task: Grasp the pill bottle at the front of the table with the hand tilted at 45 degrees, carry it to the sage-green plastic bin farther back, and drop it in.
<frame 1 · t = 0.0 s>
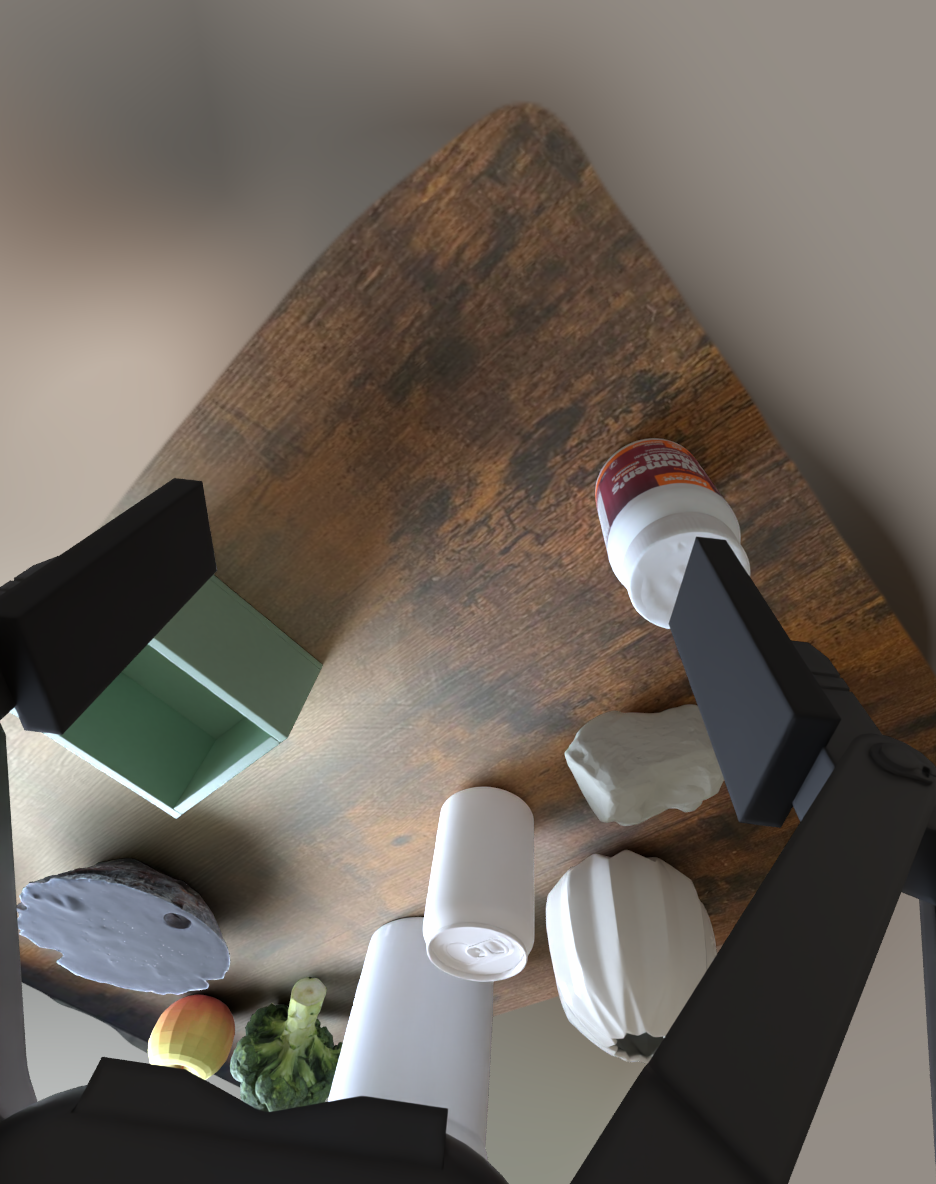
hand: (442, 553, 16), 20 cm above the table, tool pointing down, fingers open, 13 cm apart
beverage can: (487, 810, 52), on the table
decorative stone: (639, 744, 46), on the table
bin: (200, 653, 45), on the table
apple: (208, 1002, 76), on the table
vase: (618, 877, 55), on the table
pill bottle: (645, 485, 35), on the table
utensil holder: (430, 949, 64), on the table
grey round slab: (149, 895, 64), on the table
vegetable: (304, 997, 73), on the table
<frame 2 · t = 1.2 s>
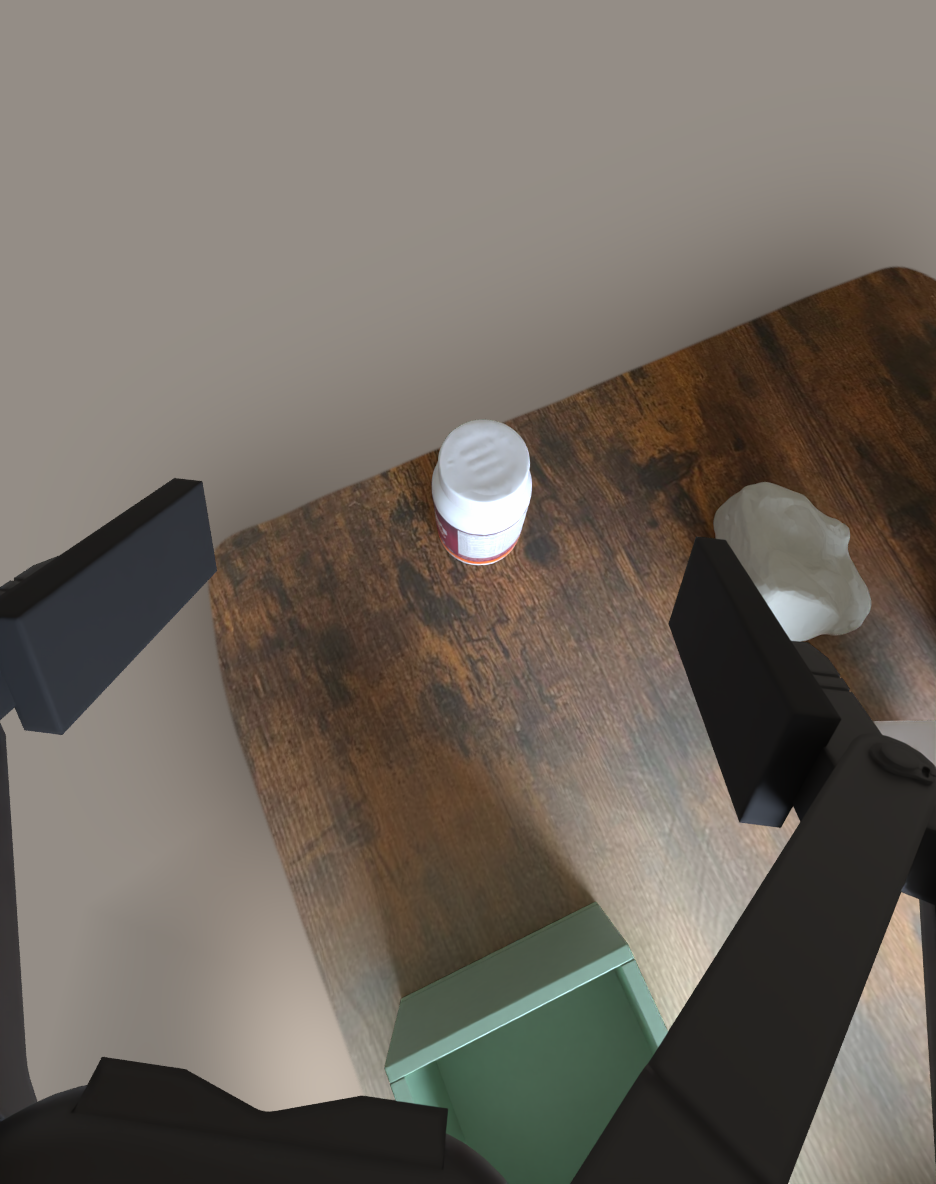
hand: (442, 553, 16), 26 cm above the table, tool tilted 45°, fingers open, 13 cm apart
beverage can: (866, 782, 40), on the table
decorative stone: (769, 581, 43), on the table
bin: (546, 1062, 36), on the table
pill bottle: (479, 528, 44), on the table
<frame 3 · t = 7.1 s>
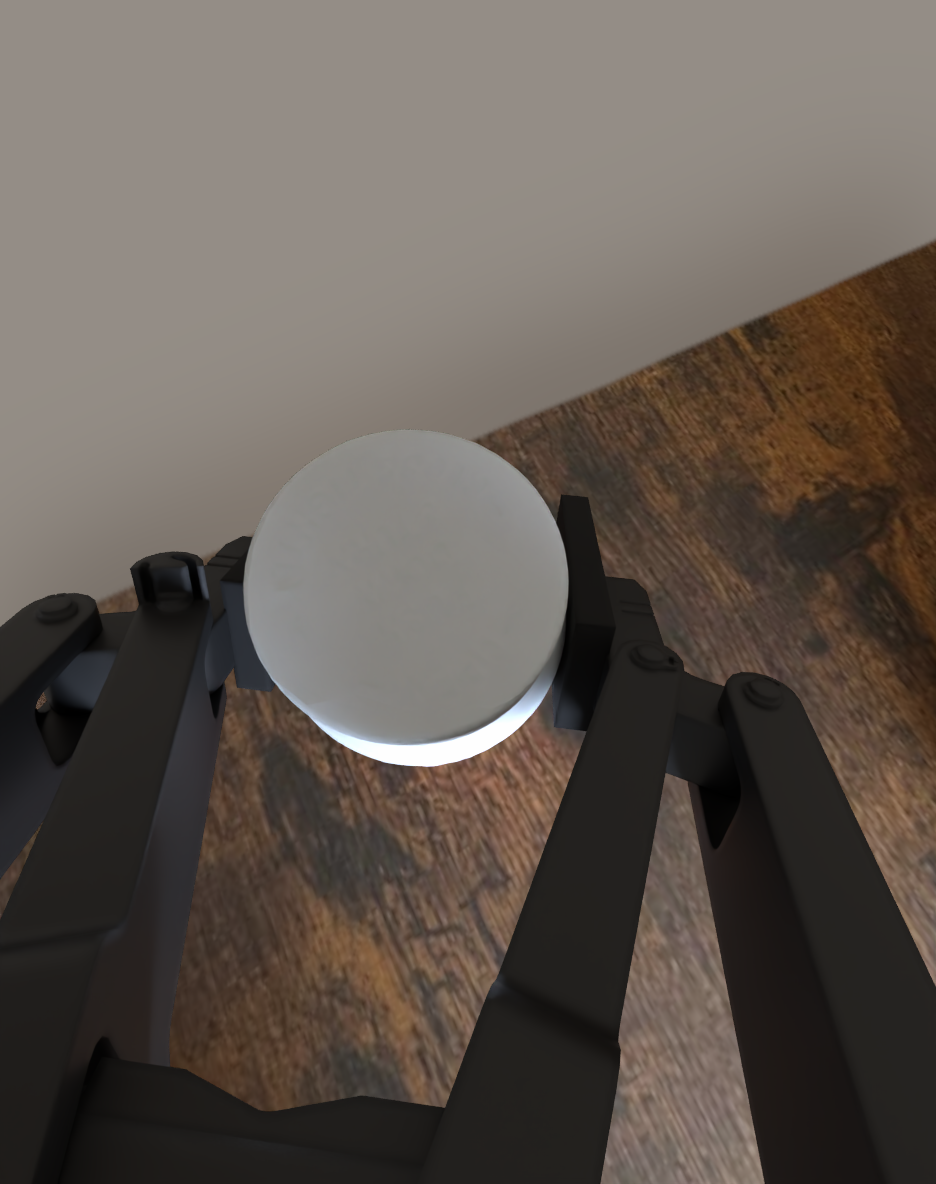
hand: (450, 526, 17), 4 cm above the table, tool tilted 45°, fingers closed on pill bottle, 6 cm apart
pill bottle: (441, 661, 20), on the table, touching gripper
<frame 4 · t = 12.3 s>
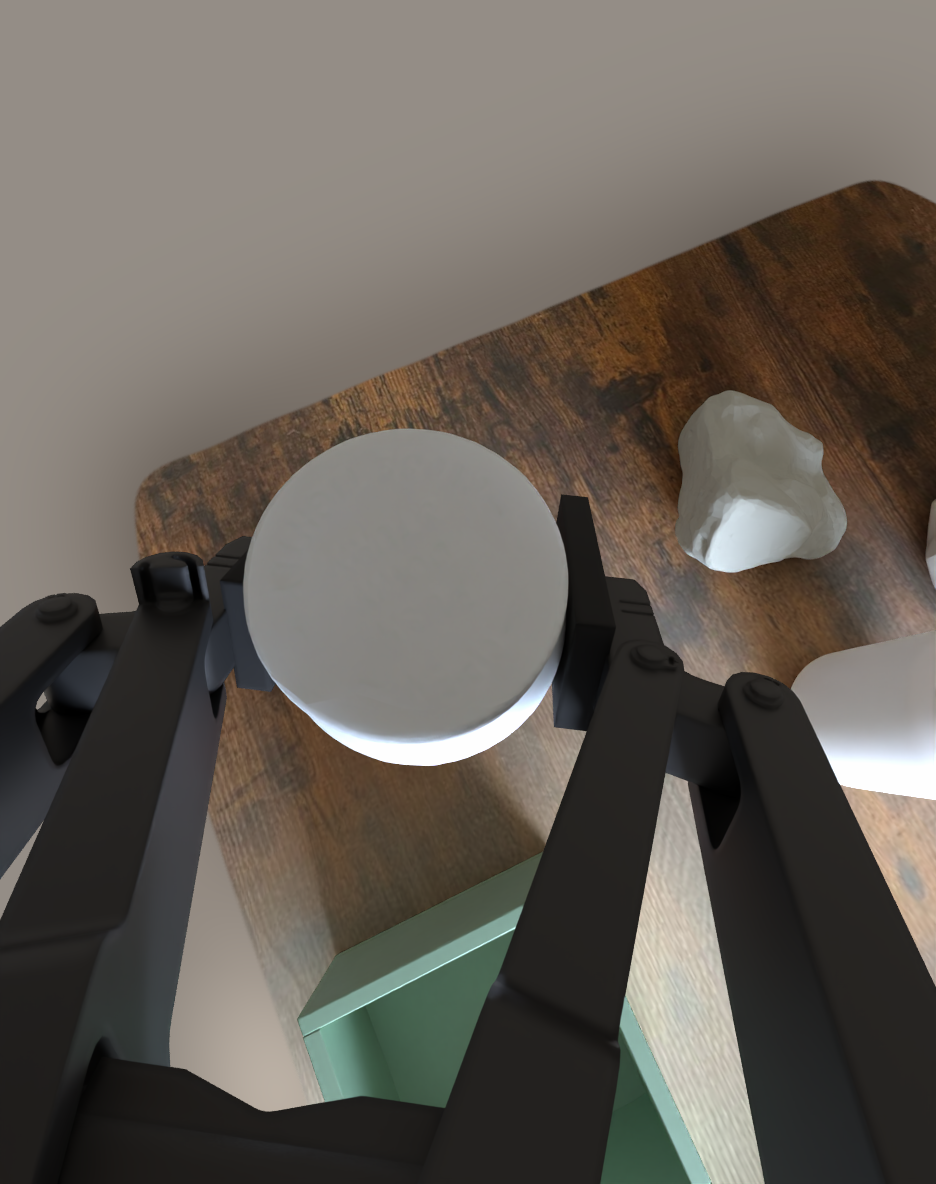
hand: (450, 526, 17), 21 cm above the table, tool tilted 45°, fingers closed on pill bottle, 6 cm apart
beverage can: (845, 718, 36), on the table
decorative stone: (738, 506, 40), on the table
bin: (495, 1023, 32), on the table
pill bottle: (440, 661, 20), point 17 cm above the table, touching gripper
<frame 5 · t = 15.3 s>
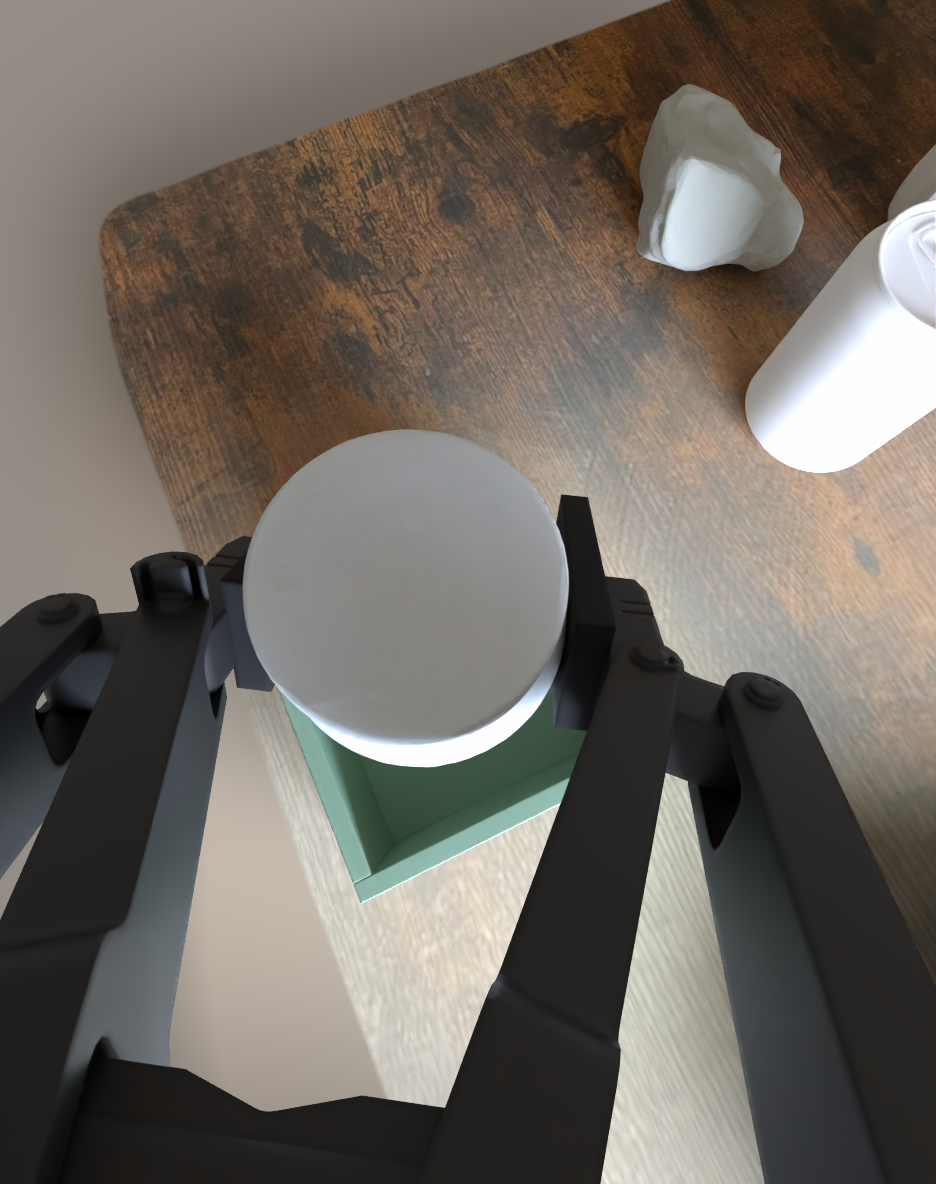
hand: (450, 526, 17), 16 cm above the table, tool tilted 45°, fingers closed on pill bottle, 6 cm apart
beverage can: (804, 418, 36), on the table
decorative stone: (700, 233, 40), on the table
bin: (452, 687, 33), on the table
pill bottle: (441, 662, 20), point 13 cm above the table, touching gripper
when the fingers open (8 cm above the table, at t = 17.8 s): pill bottle drops 4 cm, resting on bin.
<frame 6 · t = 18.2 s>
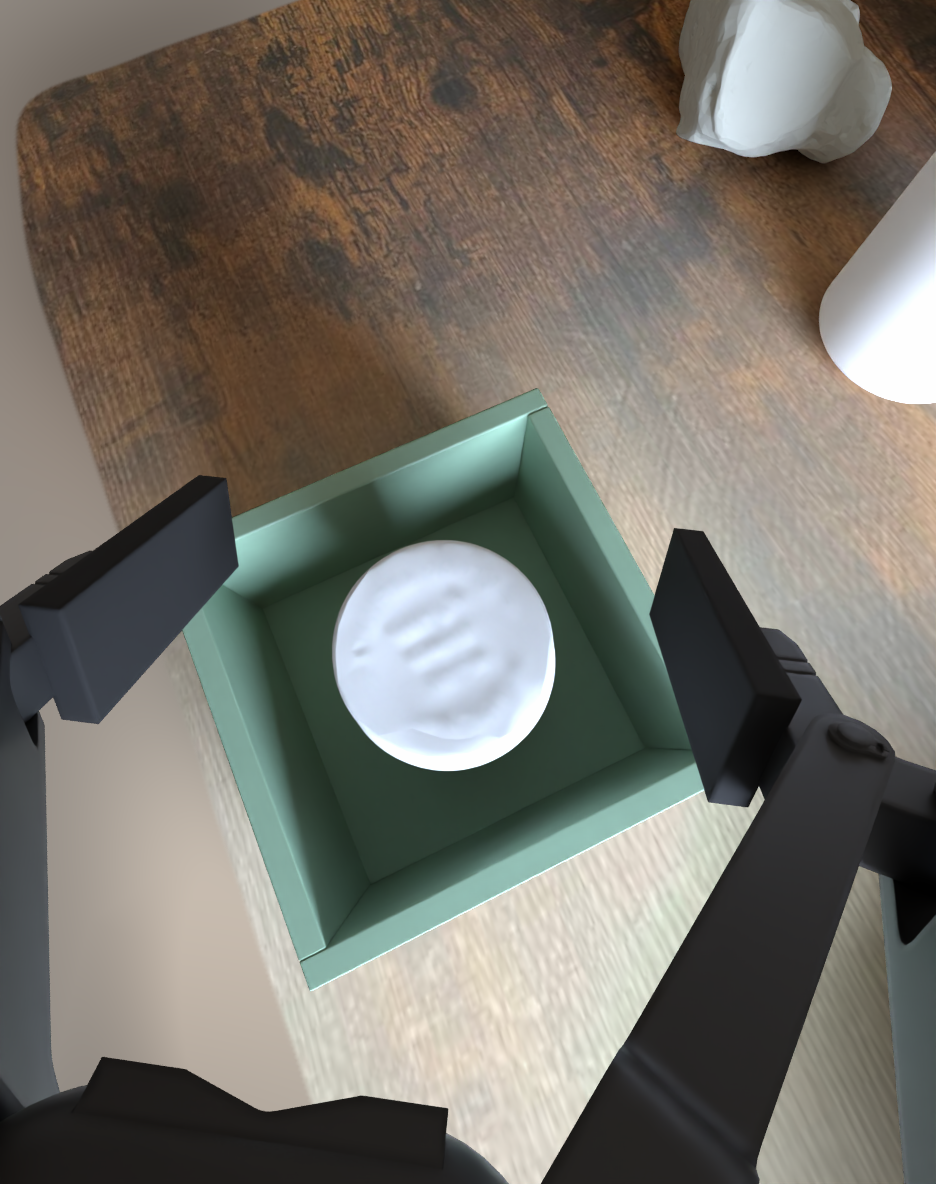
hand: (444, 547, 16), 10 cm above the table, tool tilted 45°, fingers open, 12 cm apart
beverage can: (891, 340, 29), on the table
decorative stone: (753, 121, 32), on the table
bin: (448, 677, 25), on the table
pill bottle: (456, 678, 25), resting on bin
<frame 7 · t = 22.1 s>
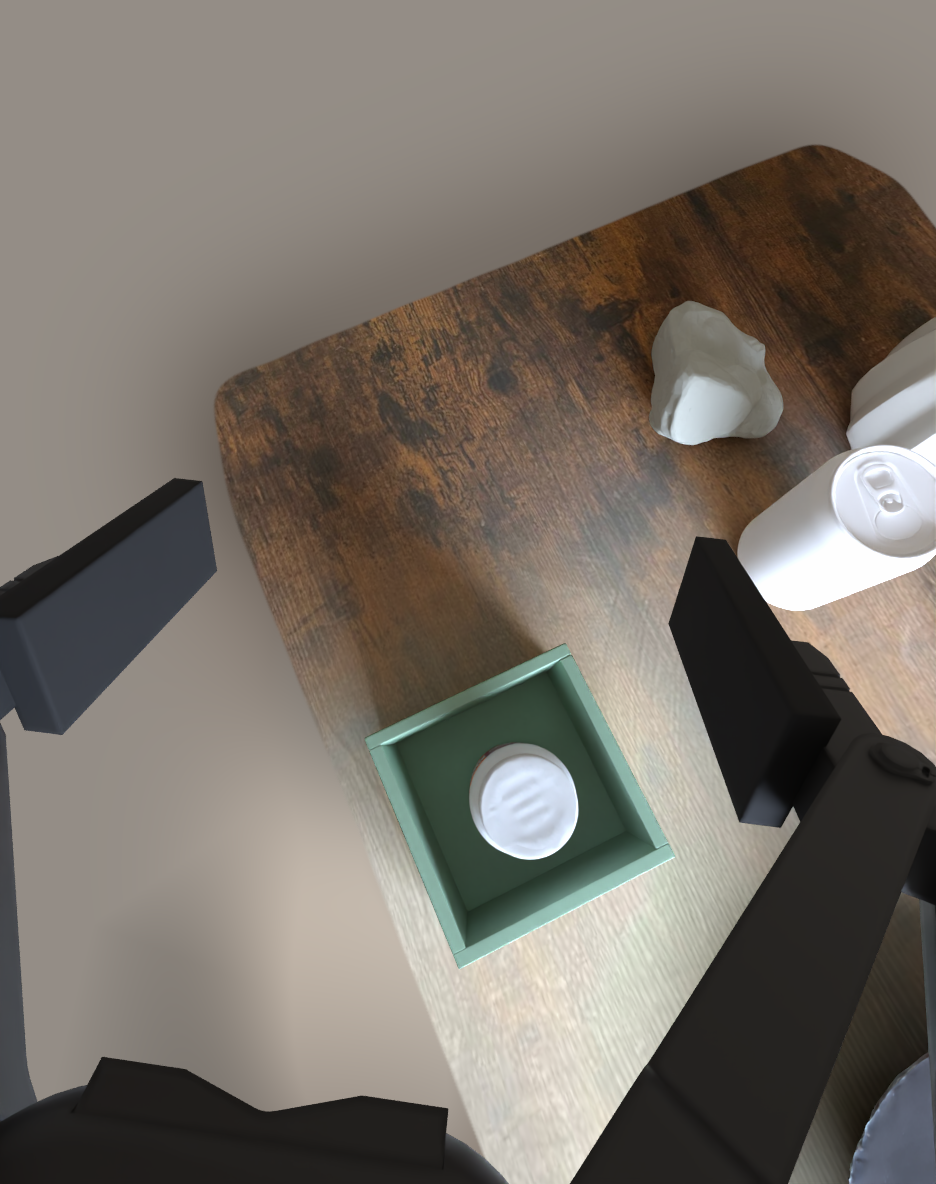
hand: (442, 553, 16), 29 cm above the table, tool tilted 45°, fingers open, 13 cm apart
beverage can: (784, 562, 46), on the table
decorative stone: (700, 402, 49), on the table
bin: (508, 785, 42), on the table
vase: (910, 450, 48), on the table
pill bottle: (513, 787, 41), resting on bin
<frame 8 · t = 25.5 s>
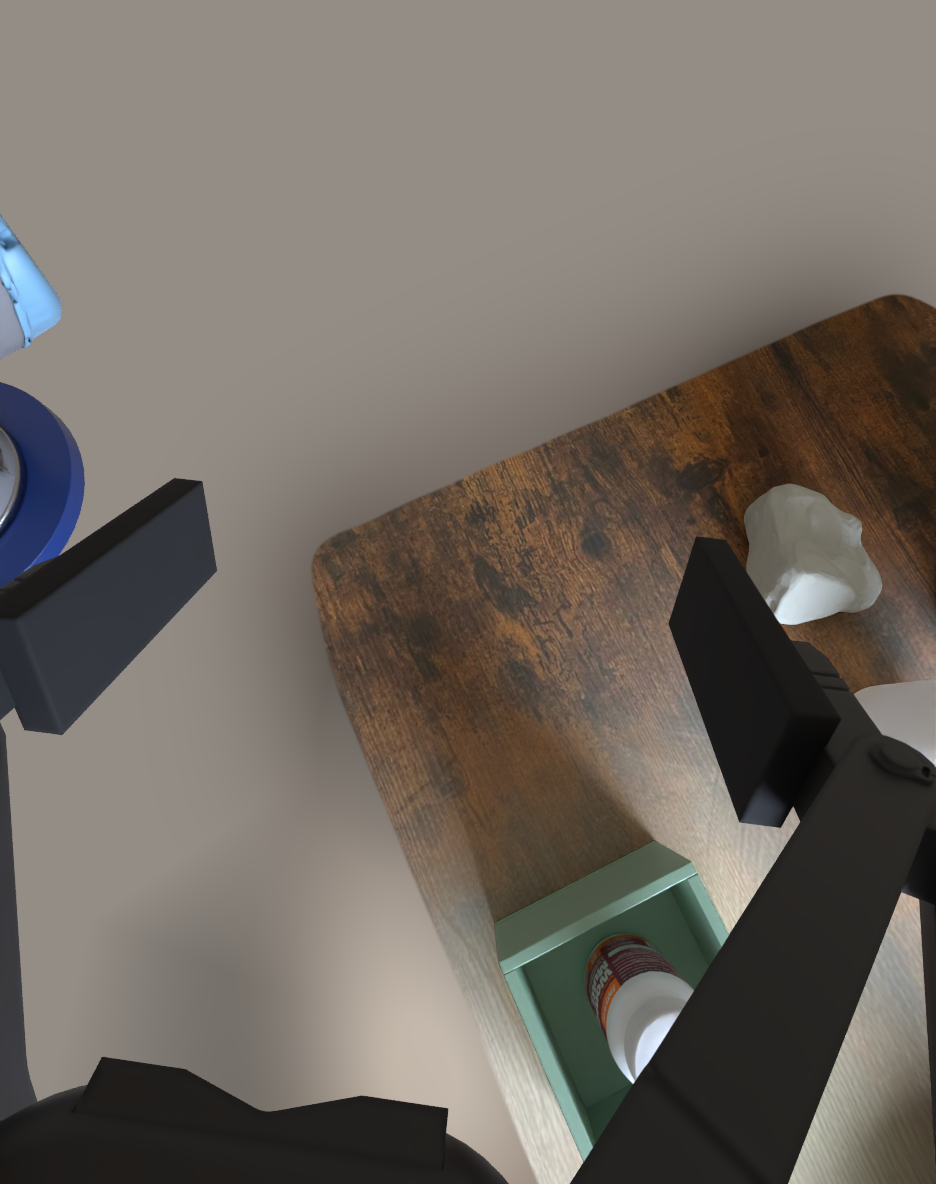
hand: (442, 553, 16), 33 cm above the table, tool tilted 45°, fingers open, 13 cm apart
beverage can: (881, 737, 46), on the table
decorative stone: (792, 568, 50), on the table
bin: (619, 973, 42), on the table
pill bottle: (625, 977, 42), resting on bin
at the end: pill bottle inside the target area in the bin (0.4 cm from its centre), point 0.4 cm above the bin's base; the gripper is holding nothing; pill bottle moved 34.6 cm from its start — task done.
